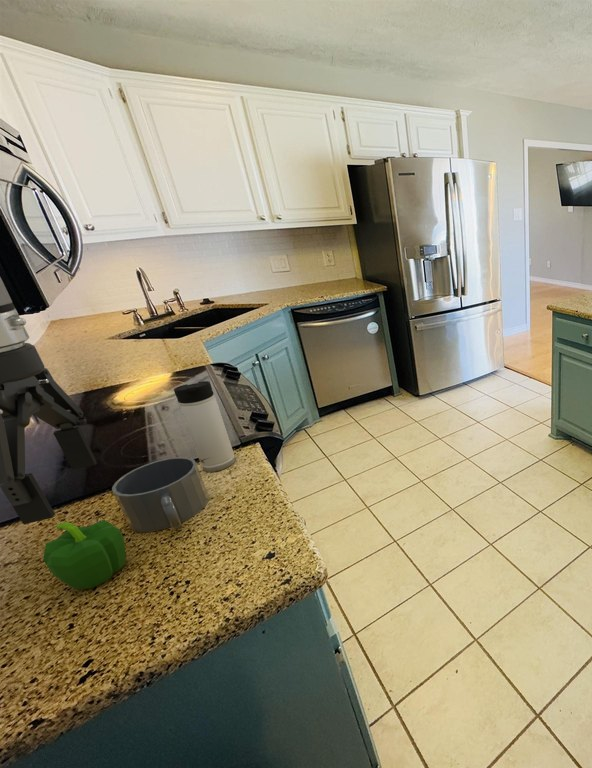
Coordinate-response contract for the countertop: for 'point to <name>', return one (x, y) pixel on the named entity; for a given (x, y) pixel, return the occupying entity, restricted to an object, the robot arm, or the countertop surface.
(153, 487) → the wide gray mug
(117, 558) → the bell pepper
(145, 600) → the countertop surface
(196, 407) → the travel mug
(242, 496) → the countertop surface
